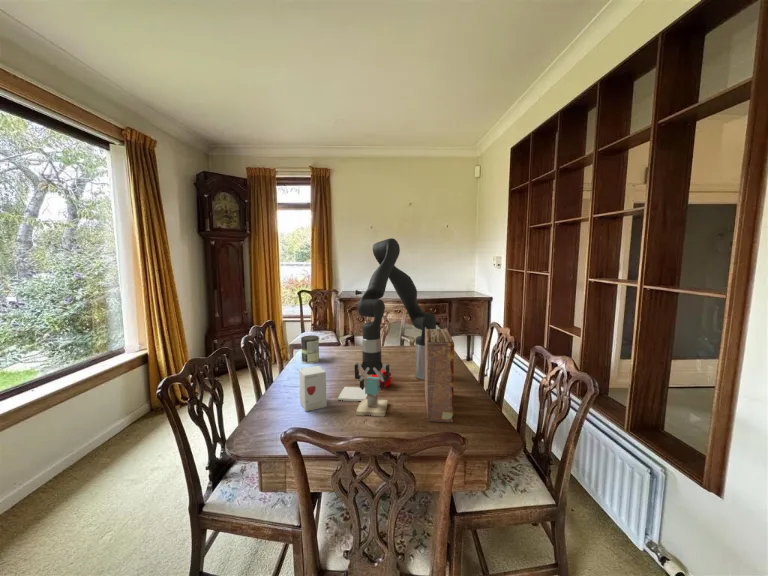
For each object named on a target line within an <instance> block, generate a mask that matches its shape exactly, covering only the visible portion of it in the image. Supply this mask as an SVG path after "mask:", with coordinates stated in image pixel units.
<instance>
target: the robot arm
mask: <svg viewBox="0 0 768 576" xmlns="http://www.w3.org/2000/svg"><path fill="white" fill-rule="evenodd" d="M400 250H401V248H400V244H399V243H398V241H397V240H396V239H395V238H393V237H391V238H390V237H389V238H386V239H384V240H380V241H378V242H375V243H373V245H372V254H373V256H374V258H375V259H376V262H378V264H379V266H377V268H376V270H374V272H373V274H372V275H371V277H370V280H369V282H368V286H367V289H366V290H365V292H364V293H363V295H362V296H361V297H360V299H359V301H358V304H357V312H358V315H360V316H361V317H364V318H367V317H368V318H373V321H369V322H365V323H363V325H362V343H361V345H362V346H361V350H362V351H361V352H362V353H361V354H362V355H361V357H362V362H361V363H359V362H355V364H354V379H355V380H358V381H359V387H360V388H361V389H362V390H363V389H364V388H365V377H366V376H367V375H368V376H369V375H370V376H372V375H376V374H377V376H378V377H379V378H380V380H381V386H380V391H382V392H383V391H384V389H385V388H386V387H385V381H386V380H389V373H390V369H391V368H390V365H391V364H390V363H386V364H385V363H383V362H382V340H381V337H382V336H381V329H382V322H383V321H382V320H383V317H384V313H385V310H386V307H385V306H386V305H385V302H384V301H383V299H382V298H383V297H384V295H385V292H386V287H387V284H388V281H390V283H391V284H392V287H393V288H394V290H395V291H396V292H395V293H396V294H397V295H398V297H399V299H400V301H401V302H402V304H403V306H404V308H405V309H406V312H407V313H408V316H409V318H410V322H411V323H412V325H413V326H414V328H415V329H418V330H421V335H419V336H416V337H415V372H414V374H415V377H416V379H419V380H424V381H425V327H426V329H437V319H436V316H435V314H434V313H432V312H426V311H424V310H422V308H421V307H420V304H419V303H418V300H417V299H418V290H417V286H416V284H415V283H414V281H413V279H412V277H411V276H410V275H408V274H407V273H406V272H405V271H403V270H402V269H399V268H398V267H397V266H396V262H397V260H398V259H399V256H400V254H401V253H400V252H401V251H400ZM361 368H362V370H363V373H362V374H361V375H360V369H361ZM382 368H383V369H384V370H383V369H382ZM381 370H383V371H385V372H386V376H385V377H384V375H383V374H382V372H381ZM379 371H380V372H379Z"/></svg>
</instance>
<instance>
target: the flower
mask: <svg viewBox="0 0 768 576" xmlns="http://www.w3.org/2000/svg"><path fill="white" fill-rule="evenodd" d="M379 372H380V371H379ZM381 372H382V374H383V375H384V377H385V376H386V370H383V369H381ZM391 376H392V374H391V372H389V380H386V381H385V388H387V387H388V386H389V385H391V384H392V383H391V380H392V377H391ZM371 377H378V376H377V374H376V375H372V374H371ZM379 387H381V380H380V378H379Z"/></svg>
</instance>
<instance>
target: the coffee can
mask: <svg viewBox="0 0 768 576" xmlns="http://www.w3.org/2000/svg"><path fill="white" fill-rule="evenodd" d="M319 339H320V337H319V336H318V335H304V336H302V337H300V340H301V341H300V343H301V363H303V364H314V363H318V362H319V361H320V340H319Z"/></svg>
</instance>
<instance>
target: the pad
mask: <svg viewBox="0 0 768 576" xmlns="http://www.w3.org/2000/svg"><path fill="white" fill-rule="evenodd" d="M361 399H367V394H365V387H364V389H363V390H362V389H361V388H360V386H359V387H357V386H344V387H343V389H342V390H341V391H340V394H339V395H338V397H337V401H338V400H341V401H340V402H358V401H361ZM342 400H343V401H342Z"/></svg>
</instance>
